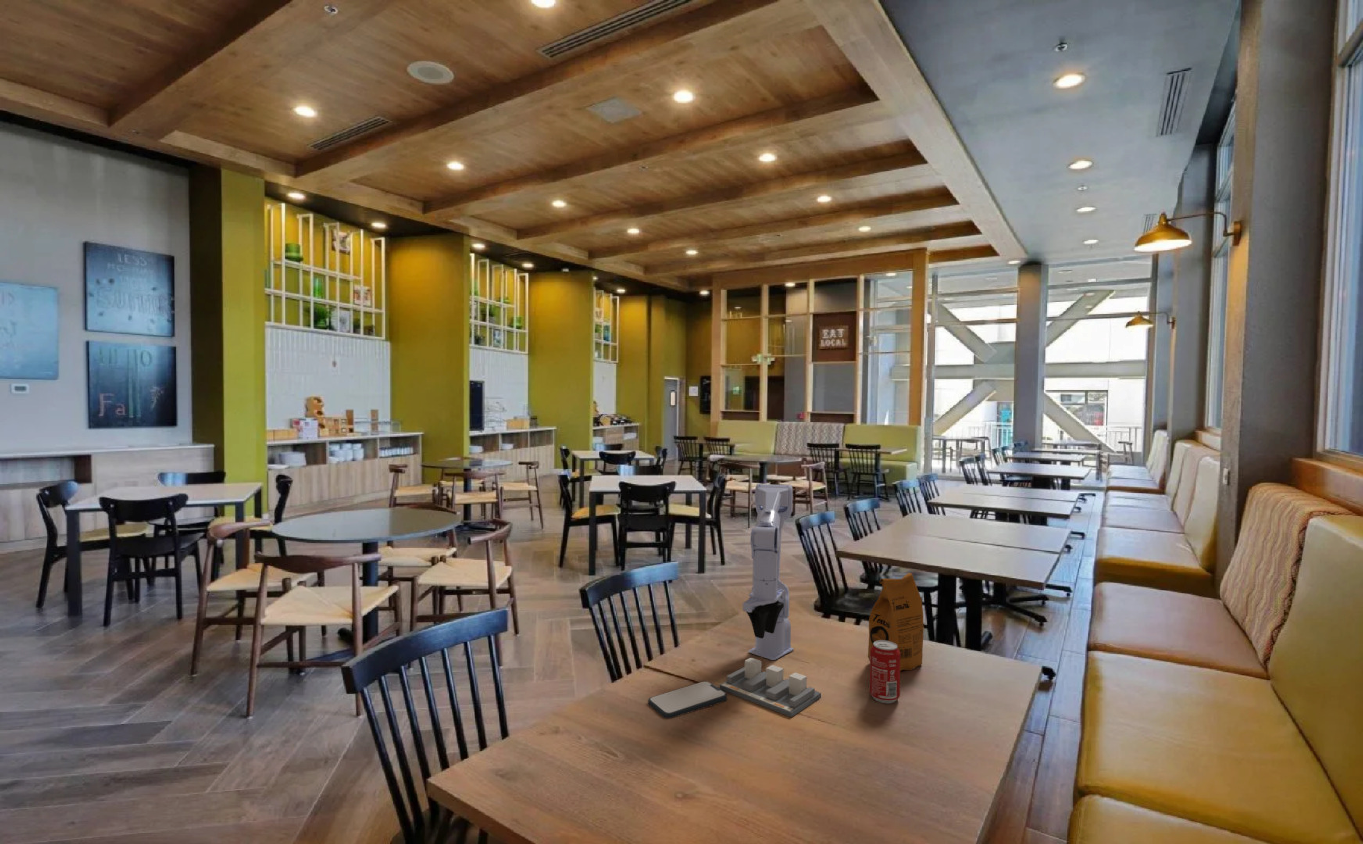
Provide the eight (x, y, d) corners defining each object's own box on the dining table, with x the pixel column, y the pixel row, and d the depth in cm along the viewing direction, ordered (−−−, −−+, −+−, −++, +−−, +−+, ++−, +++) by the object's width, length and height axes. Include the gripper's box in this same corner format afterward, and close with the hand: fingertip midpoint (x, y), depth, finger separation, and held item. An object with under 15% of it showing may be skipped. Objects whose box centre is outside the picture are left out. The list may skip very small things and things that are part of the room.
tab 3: (794, 689, 144) (794, 672, 143) (806, 694, 141) (806, 676, 141) (788, 693, 142) (789, 676, 142) (800, 697, 140) (800, 680, 140)
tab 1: (750, 674, 152) (750, 657, 151) (761, 677, 150) (761, 661, 149) (744, 677, 150) (744, 660, 150) (755, 681, 148) (755, 664, 148)
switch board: (750, 672, 155) (750, 662, 155) (821, 697, 142) (821, 686, 142) (719, 689, 146) (719, 678, 146) (791, 717, 133) (791, 705, 133)
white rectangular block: (772, 681, 148) (772, 664, 147) (783, 685, 146) (783, 668, 145) (766, 685, 146) (766, 668, 146) (777, 689, 144) (777, 672, 144)
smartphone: (666, 723, 132) (729, 701, 141) (666, 715, 132) (729, 694, 141) (645, 705, 140) (706, 686, 148) (645, 698, 140) (706, 679, 148)
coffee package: (861, 661, 162) (862, 574, 161) (897, 652, 167) (899, 568, 166) (891, 677, 153) (893, 584, 152) (928, 667, 159) (930, 578, 158)
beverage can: (895, 692, 145) (896, 639, 144) (902, 706, 138) (903, 650, 138) (867, 691, 145) (867, 638, 145) (872, 704, 139) (873, 649, 139)
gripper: (768, 568, 160) (767, 622, 161) (732, 580, 149) (732, 638, 150) (792, 573, 155) (792, 629, 156) (757, 587, 145) (757, 646, 145)
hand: (764, 634), depth 153 cm, fingers open, 4 cm apart
